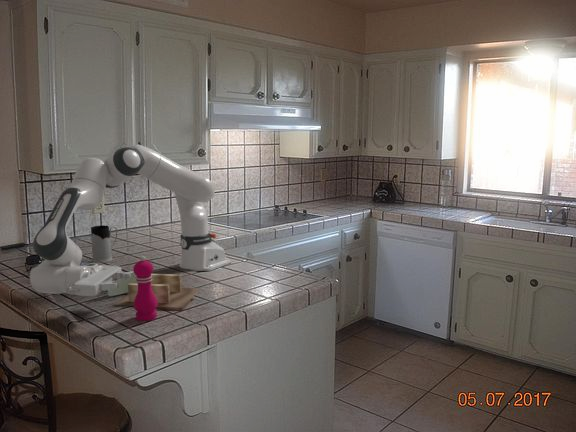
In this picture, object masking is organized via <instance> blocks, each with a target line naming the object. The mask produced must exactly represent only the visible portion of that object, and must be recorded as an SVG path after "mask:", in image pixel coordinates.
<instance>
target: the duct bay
mask: <svg viewBox="0 0 576 432" xmlns="http://www.w3.org/2000/svg"><path fill="white" fill-rule="evenodd" d="M151 275H152V281H151V288H152V291H153V293H154V295H155V296H156V299H157V303H158V305H157V307H156V309H155V310H156V311H157V310H159V311H184V309H186V308H187V307H188V306H189V304H191V302H192V301H193V300H194V299H195V298H194V296H195V295H197V293H198V292H199V291H200V290H202V289H201V287H198V288H197V287H182V275H181V274H176V273H175V274H173V273H171V274H169V273H168V274H167V273H152V274H151ZM137 292H138V284H135V283H129V284H128V293H126V294H125V295H124V296H123V297H121V298H120V299H119V300H117V301H116V302H114V303H113V304H112V305H113V306H127V307H129V306H131V307H134V300H135V297H136V295H137Z"/></svg>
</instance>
